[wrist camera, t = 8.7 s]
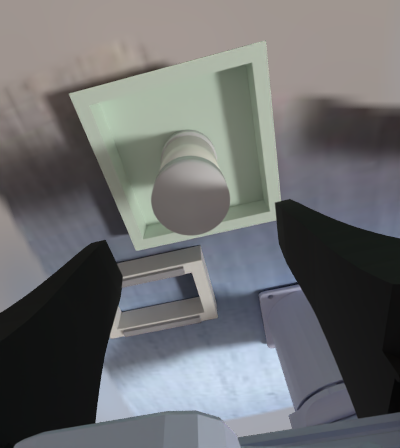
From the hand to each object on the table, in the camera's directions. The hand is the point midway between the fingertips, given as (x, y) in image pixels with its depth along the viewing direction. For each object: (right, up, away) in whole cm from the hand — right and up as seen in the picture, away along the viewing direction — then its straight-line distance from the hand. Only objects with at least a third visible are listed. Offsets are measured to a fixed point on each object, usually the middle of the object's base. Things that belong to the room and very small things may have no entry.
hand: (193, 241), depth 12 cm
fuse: (0, +5, +7) cm, 9 cm away
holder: (-4, -5, +13) cm, 15 cm away
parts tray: (-1, +6, +8) cm, 9 cm away
